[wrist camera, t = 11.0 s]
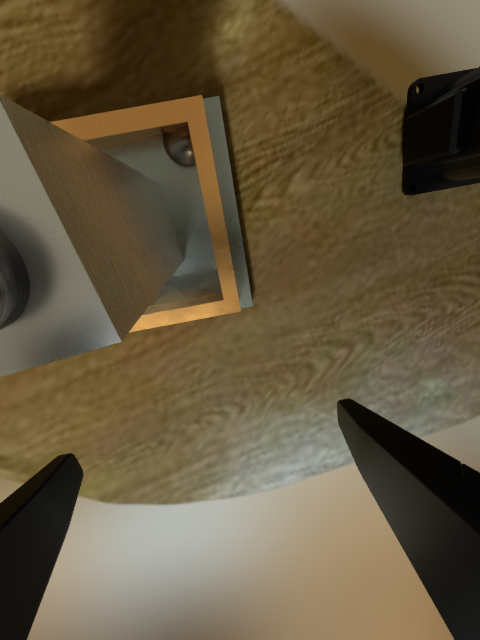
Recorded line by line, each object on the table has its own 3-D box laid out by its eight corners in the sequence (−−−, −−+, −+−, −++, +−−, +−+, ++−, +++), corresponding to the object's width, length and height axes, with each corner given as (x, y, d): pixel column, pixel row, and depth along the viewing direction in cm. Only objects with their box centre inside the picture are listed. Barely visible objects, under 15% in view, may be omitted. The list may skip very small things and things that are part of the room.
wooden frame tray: (219, 102, 16) (219, 79, 13) (251, 302, 21) (256, 315, 18) (-9, 143, 16) (-56, 128, 13) (77, 334, 21) (55, 352, 18)
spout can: (156, 181, 17) (-62, 59, 4) (184, 259, 18) (105, 363, 5) (65, 210, 17) (-459, 189, 4) (101, 284, 19) (-166, 440, 6)
